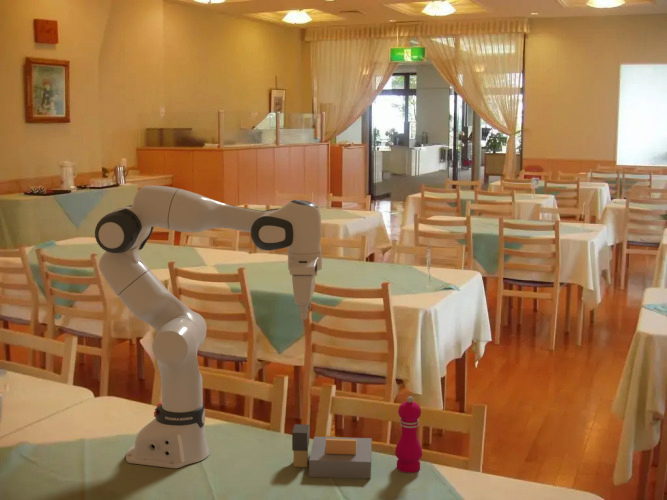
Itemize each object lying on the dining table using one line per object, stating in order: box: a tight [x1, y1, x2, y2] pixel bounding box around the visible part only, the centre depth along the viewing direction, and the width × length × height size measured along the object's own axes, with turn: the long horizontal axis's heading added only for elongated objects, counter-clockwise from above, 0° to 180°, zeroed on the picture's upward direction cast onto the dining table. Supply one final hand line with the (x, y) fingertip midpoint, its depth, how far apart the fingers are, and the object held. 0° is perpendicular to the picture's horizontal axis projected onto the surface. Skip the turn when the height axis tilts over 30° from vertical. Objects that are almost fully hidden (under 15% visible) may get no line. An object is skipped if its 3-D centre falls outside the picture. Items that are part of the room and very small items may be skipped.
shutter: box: [326, 439, 357, 455], centre depth 218 cm, size 8×8×4 cm
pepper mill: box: [394, 395, 423, 474], centre depth 216 cm, size 7×7×20 cm
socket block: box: [308, 436, 373, 480], centre depth 218 cm, size 16×16×5 cm
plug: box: [291, 423, 310, 468], centre depth 219 cm, size 4×6×10 cm, turn 177°
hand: (305, 314), depth 213 cm, fingers open, 8 cm apart
